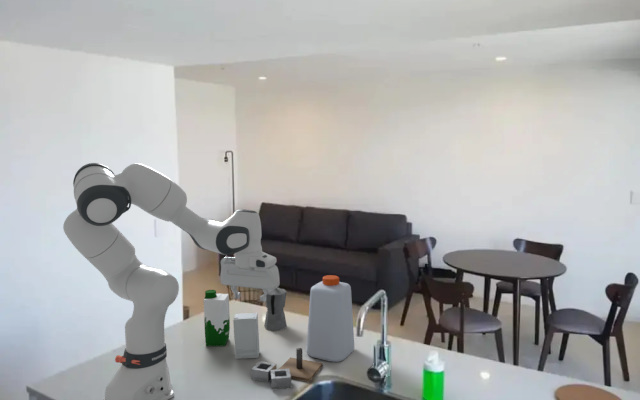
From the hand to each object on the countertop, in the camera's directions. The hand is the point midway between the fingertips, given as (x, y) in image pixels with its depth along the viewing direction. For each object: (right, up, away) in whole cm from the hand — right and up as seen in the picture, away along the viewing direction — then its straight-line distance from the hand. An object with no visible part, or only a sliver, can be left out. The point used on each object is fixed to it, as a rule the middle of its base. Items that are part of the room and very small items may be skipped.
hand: (250, 299), depth 159 cm
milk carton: (-16, -22, +25) cm, 37 cm away
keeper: (+16, -24, +3) cm, 29 cm away
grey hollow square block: (+5, -25, -2) cm, 25 cm away
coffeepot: (+4, -20, +40) cm, 45 cm away
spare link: (+10, -25, -6) cm, 28 cm away
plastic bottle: (+27, -23, +17) cm, 39 cm away
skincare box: (-3, -23, +14) cm, 27 cm away
